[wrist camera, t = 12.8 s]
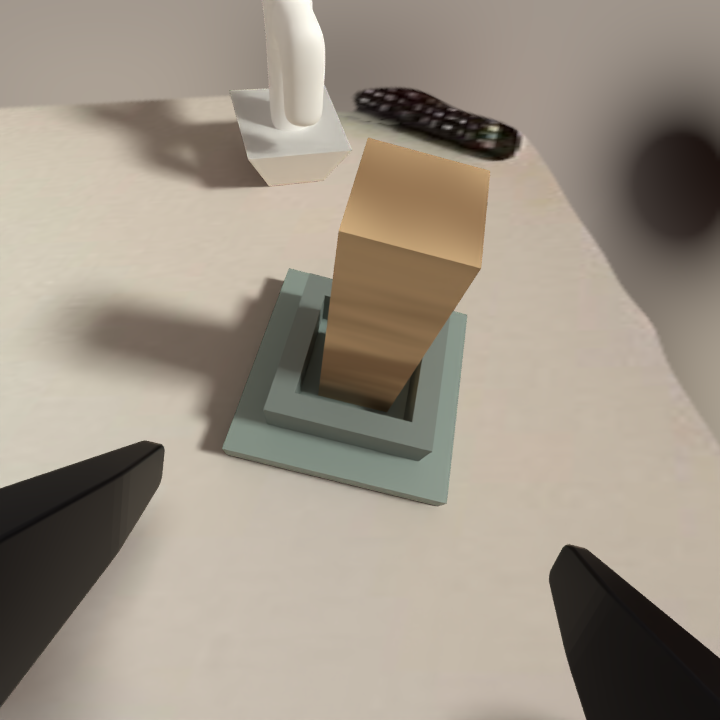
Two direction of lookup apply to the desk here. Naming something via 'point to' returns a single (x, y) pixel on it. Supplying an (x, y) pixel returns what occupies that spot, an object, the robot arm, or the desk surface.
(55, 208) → the desk surface
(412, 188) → the oak stick
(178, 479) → the desk surface
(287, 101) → the figurine
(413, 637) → the desk surface
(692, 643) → the robot arm
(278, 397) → the socket holder
